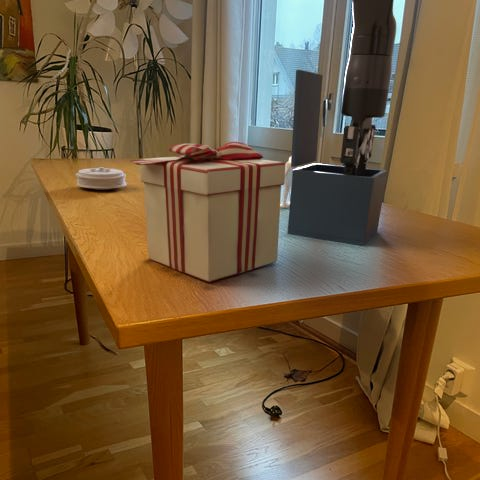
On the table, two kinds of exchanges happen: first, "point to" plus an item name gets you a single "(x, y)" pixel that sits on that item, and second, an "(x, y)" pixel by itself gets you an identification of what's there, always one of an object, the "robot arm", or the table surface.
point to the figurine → (287, 183)
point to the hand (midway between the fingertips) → (352, 185)
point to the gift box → (212, 209)
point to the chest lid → (306, 117)
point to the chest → (335, 203)
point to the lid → (101, 178)
